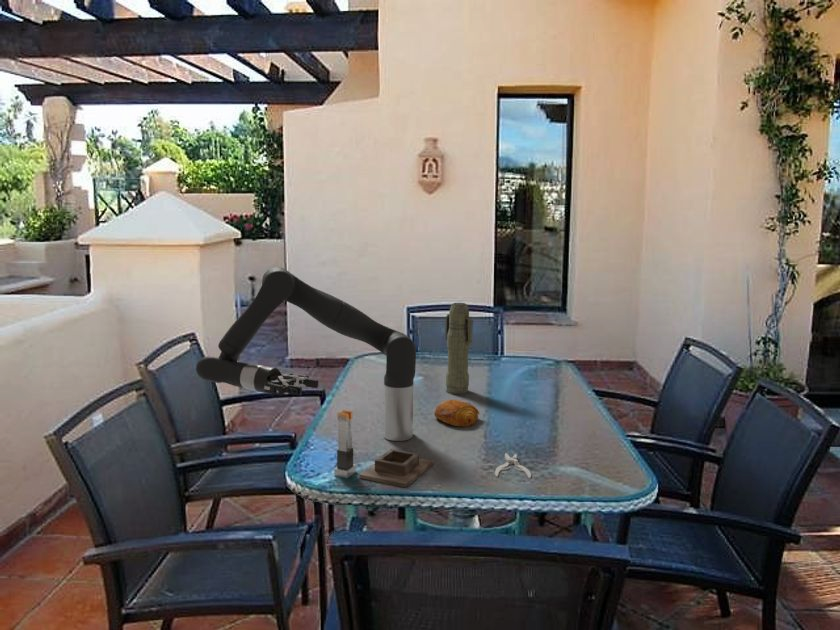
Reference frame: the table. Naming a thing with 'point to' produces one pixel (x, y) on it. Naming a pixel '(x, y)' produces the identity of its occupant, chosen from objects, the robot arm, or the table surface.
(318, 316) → the robot arm
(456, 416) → the croissant
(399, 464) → the stand
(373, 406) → the table surface
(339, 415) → the tongs
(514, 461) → the pliers
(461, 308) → the thermos
